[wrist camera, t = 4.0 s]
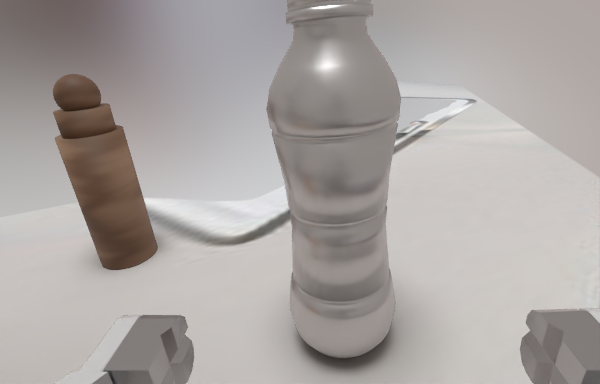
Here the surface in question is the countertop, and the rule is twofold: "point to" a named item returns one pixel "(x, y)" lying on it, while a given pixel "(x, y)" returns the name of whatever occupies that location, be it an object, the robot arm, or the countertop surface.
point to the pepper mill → (102, 174)
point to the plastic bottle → (336, 173)
